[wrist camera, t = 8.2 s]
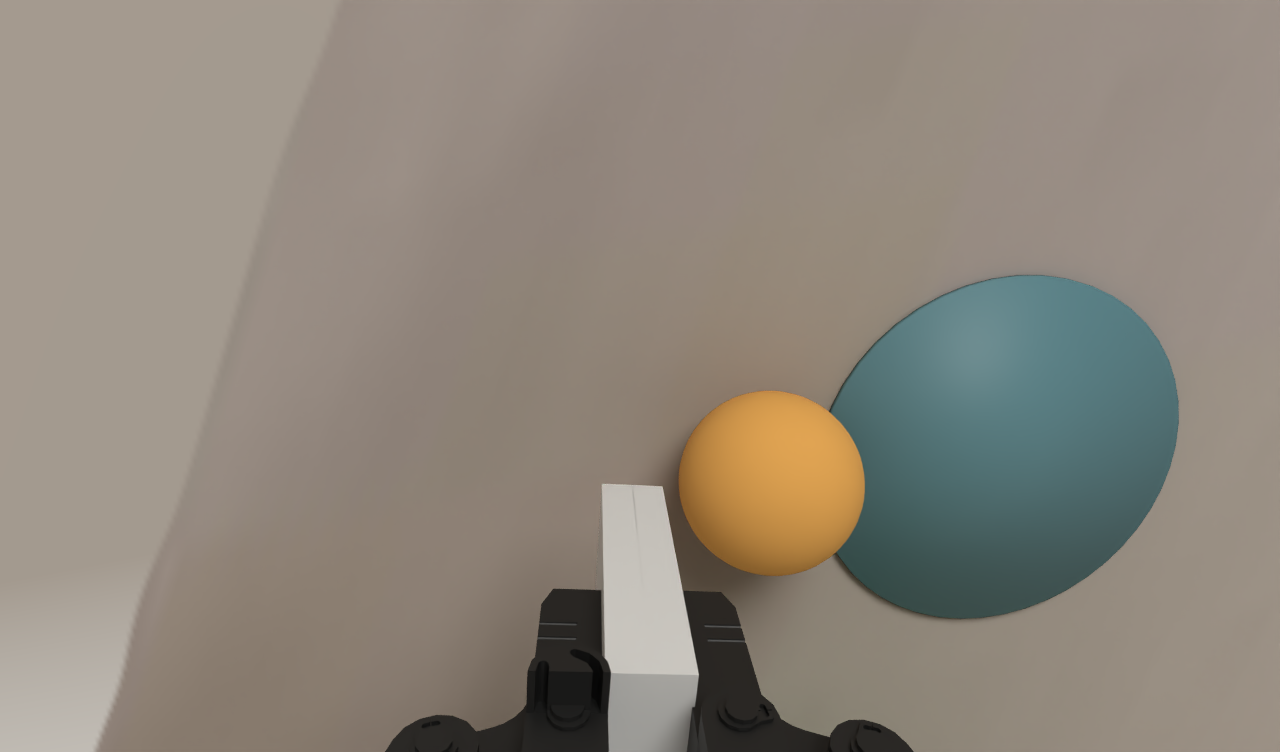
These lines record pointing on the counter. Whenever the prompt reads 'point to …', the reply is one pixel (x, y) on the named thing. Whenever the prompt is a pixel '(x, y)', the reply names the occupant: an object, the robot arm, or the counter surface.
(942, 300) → the teal ellipsoid
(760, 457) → the ball
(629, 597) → the robot arm
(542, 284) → the counter surface
